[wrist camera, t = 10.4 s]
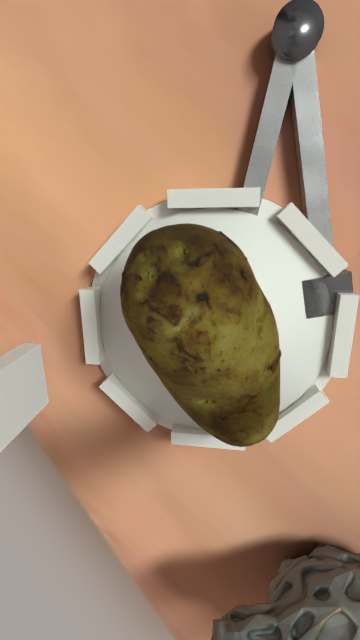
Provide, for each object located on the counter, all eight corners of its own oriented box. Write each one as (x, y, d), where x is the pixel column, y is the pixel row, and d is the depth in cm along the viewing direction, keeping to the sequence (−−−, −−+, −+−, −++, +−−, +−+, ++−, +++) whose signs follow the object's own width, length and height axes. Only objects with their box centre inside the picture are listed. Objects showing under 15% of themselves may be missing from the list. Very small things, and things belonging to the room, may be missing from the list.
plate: (82, 194, 21) (69, 191, 19) (362, 188, 18) (375, 184, 17) (101, 423, 25) (92, 437, 24) (326, 441, 23) (334, 458, 21)
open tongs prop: (206, 24, 17) (204, 7, 16) (389, 7, 16) (404, -13, 15) (202, 311, 22) (200, 316, 20) (346, 315, 20) (354, 321, 19)
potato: (151, 412, 23) (114, 502, 15) (141, 226, 19) (87, 224, 12) (270, 418, 22) (293, 520, 14) (281, 222, 18) (321, 217, 11)
